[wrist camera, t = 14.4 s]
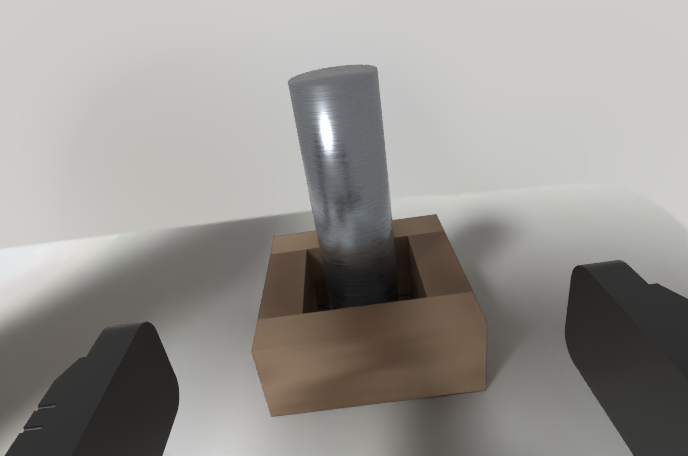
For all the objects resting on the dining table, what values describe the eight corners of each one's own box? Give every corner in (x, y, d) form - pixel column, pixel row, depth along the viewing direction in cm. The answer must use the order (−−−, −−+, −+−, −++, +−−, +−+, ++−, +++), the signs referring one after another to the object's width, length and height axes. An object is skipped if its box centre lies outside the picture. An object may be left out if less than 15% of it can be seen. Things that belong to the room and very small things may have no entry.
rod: (337, 360, 21) (284, 91, 15) (335, 315, 24) (290, 73, 18) (408, 351, 21) (382, 76, 15) (398, 307, 24) (373, 61, 18)
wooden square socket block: (271, 416, 19) (251, 351, 17) (286, 289, 26) (273, 236, 25) (485, 389, 18) (487, 321, 17) (438, 269, 26) (436, 214, 24)
